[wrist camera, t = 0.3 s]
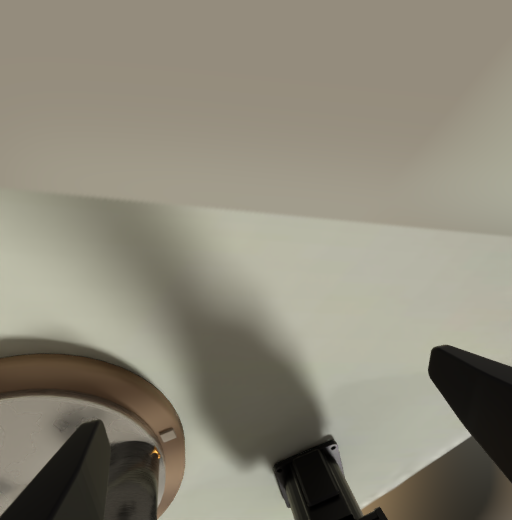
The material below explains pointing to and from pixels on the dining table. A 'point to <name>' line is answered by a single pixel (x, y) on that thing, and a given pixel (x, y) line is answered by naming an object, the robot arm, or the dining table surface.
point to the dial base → (108, 387)
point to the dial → (57, 433)
